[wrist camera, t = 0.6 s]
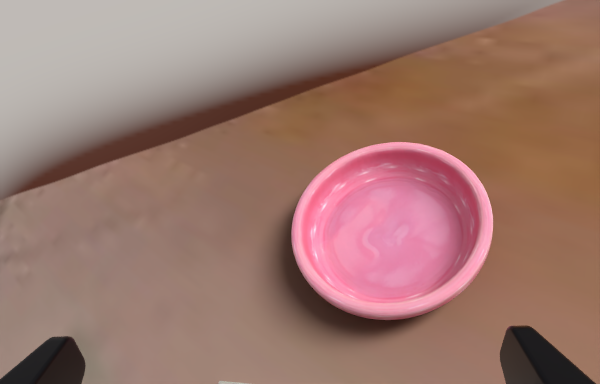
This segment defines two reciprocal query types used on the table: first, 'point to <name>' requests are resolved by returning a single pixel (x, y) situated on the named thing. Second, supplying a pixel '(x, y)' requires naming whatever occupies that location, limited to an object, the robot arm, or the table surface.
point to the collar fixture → (223, 383)
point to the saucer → (392, 230)
